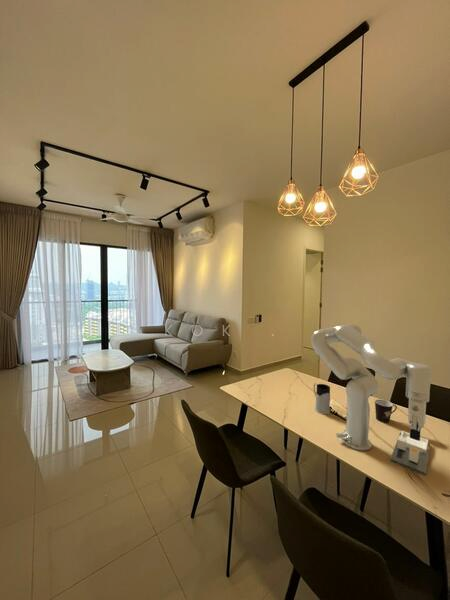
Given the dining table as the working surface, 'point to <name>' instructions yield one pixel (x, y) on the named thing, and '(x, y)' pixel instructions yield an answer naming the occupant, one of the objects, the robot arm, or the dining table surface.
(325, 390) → the grey black pitcher
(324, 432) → the dining table surface
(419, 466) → the panel
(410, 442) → the socket tray
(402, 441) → the toggle
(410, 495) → the dining table surface
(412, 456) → the toggle tagged
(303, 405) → the dining table surface
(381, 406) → the coffee mug
